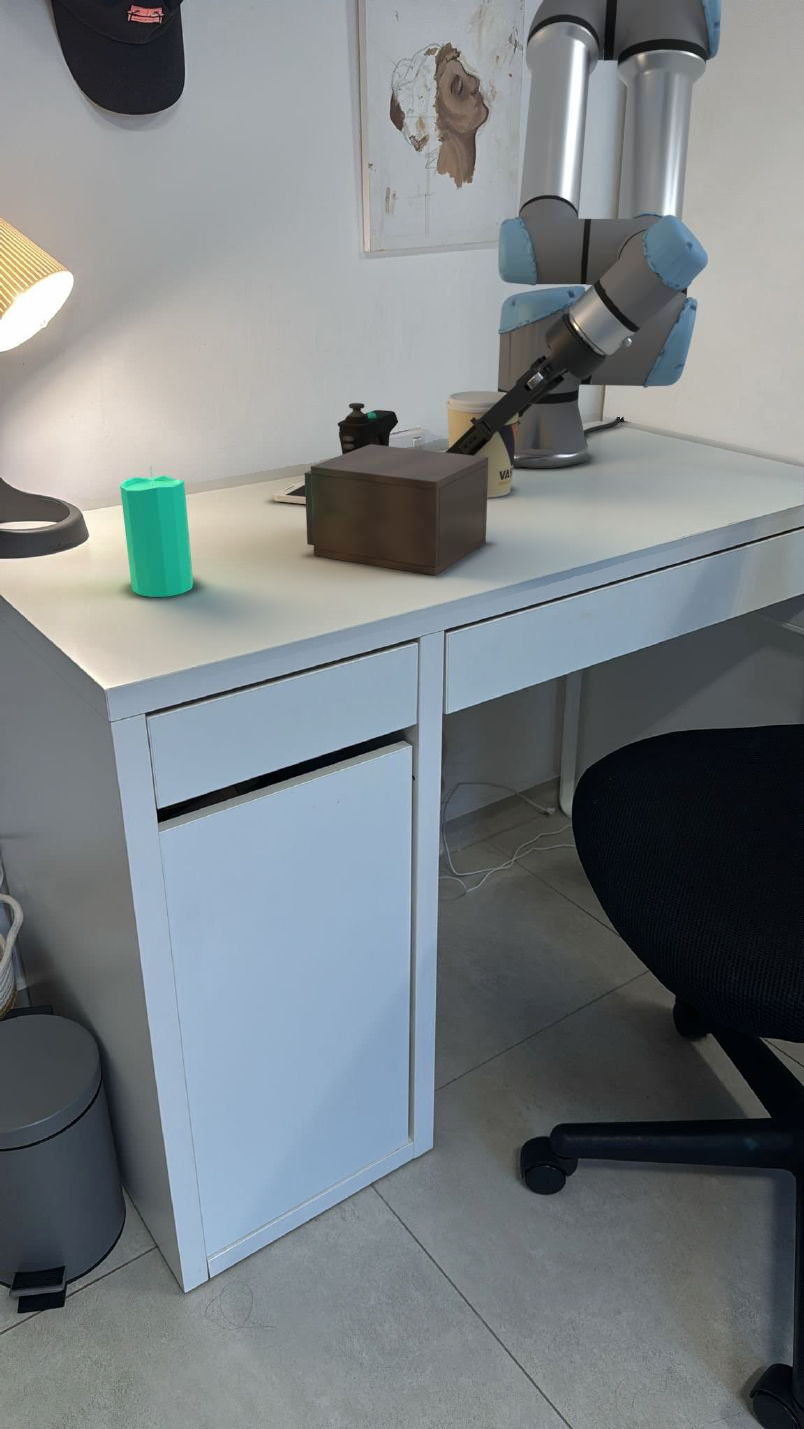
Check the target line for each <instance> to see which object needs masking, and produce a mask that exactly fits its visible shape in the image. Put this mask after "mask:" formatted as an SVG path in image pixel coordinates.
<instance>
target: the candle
mask: <svg viewBox="0 0 804 1429" xmlns="http://www.w3.org/2000/svg"><path fill="white" fill-rule="evenodd" d="M152 468H153V467H152V465H149V471H150V477H138V476H131V477H130V478H127V479H125V480H122V482H121V484H120V486H119V487H120V488H119V489H120V495H121V496H120V497H121V506H122V514H123V521H124V522H123V523H124V530H125V539H126V549H127V557H128V566H129V575H130V576H129V577H130V584H131V585H130V586H131V591H132V592H133V593H135V594H136V595H138V596H143V597H149V598H162V597H163V598H166V597H172V596H177V595H182V594H184V593H186V592H188V591H190V590H192V589H193V586H194V576H193V566H192V564H193V563H192V554H191V543H190V531H189V522H188V519H189V518H188V509H187V508H188V507H187V498H186V486H185V479H176V478H173V477H170V476H168V475H165V474H164V475H163V474H162V475H158V476H153V469H152Z"/></svg>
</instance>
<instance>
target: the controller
mask: <svg viewBox="0 0 804 1429" xmlns="http://www.w3.org/2000/svg"><path fill="white" fill-rule="evenodd" d="M348 404H349V405H348V408H349V409H352V411H351V412H350V413H349V414H348V415H346V417H345V419H344V420H341V421H339V422H337V426H338V427H339V428H338V431H339V432H338V438H339V442H340V447H341V455H343V454H346V453H349V452H351V451H354V450H357V449H359V448H362V447H365V446H368V445H370V444H372V445H381V446H390V435H391V433H392V431H393V430H394V429H395V427H396V426H397V425H398V423H399V420H398V416H397V414H396V412H395V411H394V410H385V409H384V410H382V409H374V410H372V411H368V412H365V413H364V412H363V411H362V409H364V408H365V403H362V402H352V403H348Z"/></svg>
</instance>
